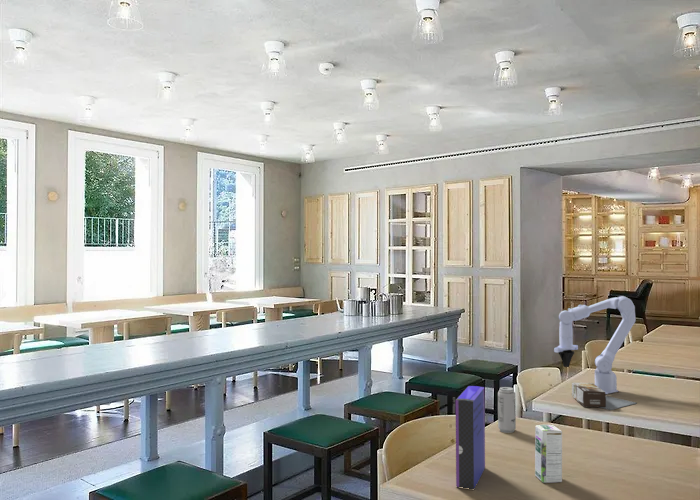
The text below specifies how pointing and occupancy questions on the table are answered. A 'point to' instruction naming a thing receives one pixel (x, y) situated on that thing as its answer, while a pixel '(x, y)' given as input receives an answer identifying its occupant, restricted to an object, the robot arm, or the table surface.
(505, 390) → the energy drink can
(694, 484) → the table surface
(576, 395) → the coffee box
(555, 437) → the syrup box
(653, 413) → the table surface
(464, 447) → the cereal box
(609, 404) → the mat
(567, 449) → the table surface
